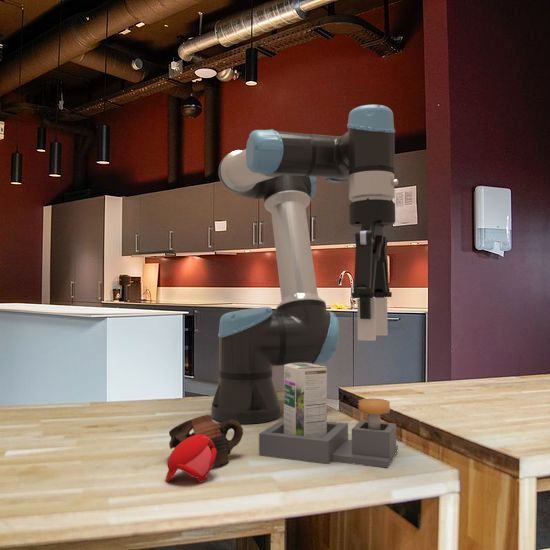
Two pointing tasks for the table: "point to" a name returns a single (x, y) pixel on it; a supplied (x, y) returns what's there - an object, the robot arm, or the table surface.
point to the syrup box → (305, 399)
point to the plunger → (374, 411)
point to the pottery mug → (209, 435)
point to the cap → (192, 457)
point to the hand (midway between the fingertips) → (373, 337)
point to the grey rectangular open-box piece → (333, 444)
